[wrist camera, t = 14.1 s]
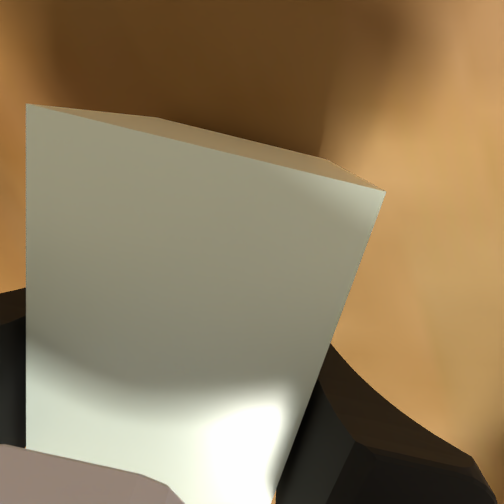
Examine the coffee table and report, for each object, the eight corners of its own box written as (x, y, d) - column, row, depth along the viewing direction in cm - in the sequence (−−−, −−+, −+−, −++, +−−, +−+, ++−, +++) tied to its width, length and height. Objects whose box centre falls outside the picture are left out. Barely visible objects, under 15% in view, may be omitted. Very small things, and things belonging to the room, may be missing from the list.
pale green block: (326, 159, 12) (386, 191, 6) (251, 410, 16) (237, 593, 10) (156, 117, 12) (25, 103, 5) (123, 382, 16) (26, 548, 9)
